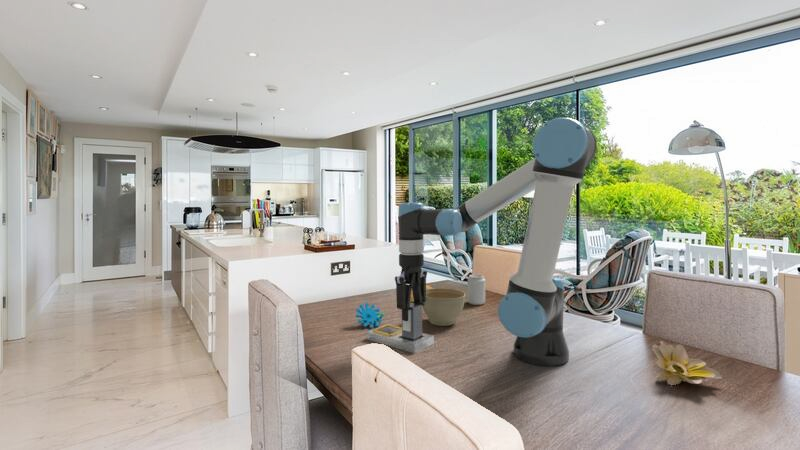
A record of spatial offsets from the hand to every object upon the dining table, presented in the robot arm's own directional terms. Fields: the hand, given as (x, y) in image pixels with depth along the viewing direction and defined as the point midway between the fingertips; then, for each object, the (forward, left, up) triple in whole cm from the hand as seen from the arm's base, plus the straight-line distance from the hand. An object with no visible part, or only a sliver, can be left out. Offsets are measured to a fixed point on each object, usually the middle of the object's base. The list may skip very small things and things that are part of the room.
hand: (412, 328), depth 127 cm
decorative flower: (-67, -20, -5) cm, 71 cm away
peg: (0, 0, -4) cm, 4 cm away
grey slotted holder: (+5, 0, -5) cm, 7 cm away
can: (+8, -56, -5) cm, 57 cm away
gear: (+23, -6, -6) cm, 25 cm away
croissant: (+31, -48, -6) cm, 57 cm away
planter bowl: (+5, -25, -5) cm, 26 cm away
